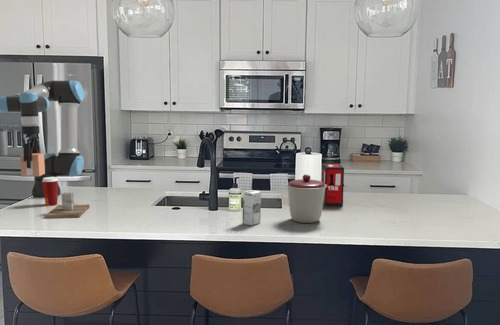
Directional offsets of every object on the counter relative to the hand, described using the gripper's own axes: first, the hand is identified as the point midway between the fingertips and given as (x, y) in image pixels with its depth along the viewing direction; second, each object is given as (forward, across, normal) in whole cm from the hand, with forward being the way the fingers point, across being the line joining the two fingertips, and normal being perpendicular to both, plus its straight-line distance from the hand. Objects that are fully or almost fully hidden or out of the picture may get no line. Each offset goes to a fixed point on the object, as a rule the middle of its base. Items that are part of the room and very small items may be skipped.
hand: (33, 173), depth 217 cm
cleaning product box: (+19, -8, +148) cm, 149 cm away
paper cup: (+19, -17, +2) cm, 26 cm away
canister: (+19, +26, +126) cm, 130 cm away
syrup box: (+19, +29, +101) cm, 107 cm away
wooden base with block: (+19, +1, +16) cm, 25 cm away
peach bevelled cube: (+1, 0, 0) cm, 1 cm away
